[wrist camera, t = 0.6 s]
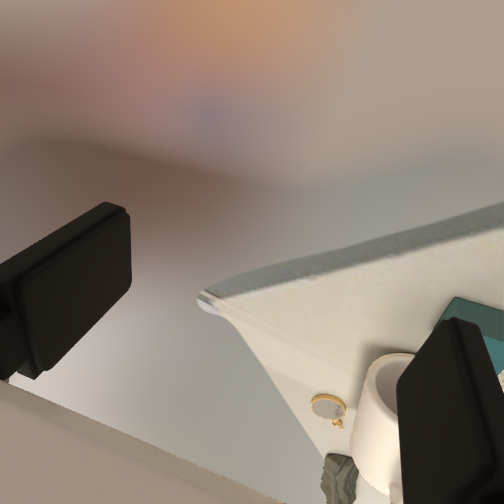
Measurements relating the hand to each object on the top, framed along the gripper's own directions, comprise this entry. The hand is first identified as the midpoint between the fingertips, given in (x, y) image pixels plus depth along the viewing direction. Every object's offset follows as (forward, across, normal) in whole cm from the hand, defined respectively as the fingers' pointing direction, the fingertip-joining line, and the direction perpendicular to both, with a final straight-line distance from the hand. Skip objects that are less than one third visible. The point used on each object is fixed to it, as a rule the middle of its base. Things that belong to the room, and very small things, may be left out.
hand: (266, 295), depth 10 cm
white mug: (+18, -14, +22) cm, 32 cm away
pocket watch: (+17, -10, +30) cm, 36 cm away
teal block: (+18, -16, +11) cm, 27 cm away
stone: (+17, -13, +44) cm, 49 cm away
